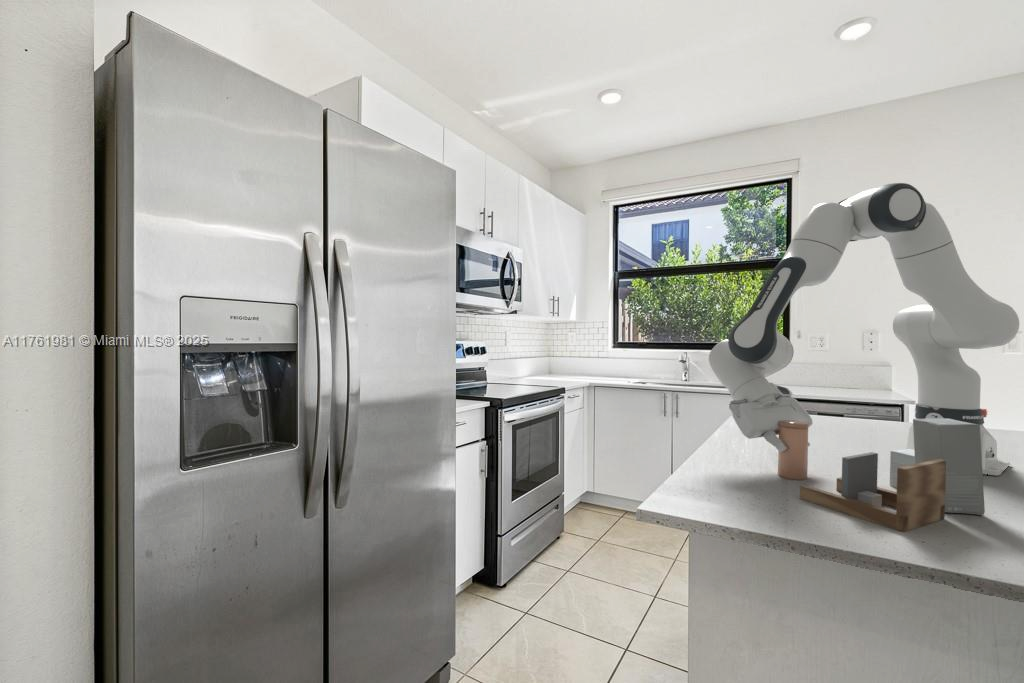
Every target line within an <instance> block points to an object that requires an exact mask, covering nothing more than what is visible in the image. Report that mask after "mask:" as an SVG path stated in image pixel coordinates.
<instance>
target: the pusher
mask: <svg viewBox="0 0 1024 683" xmlns="http://www.w3.org/2000/svg"><path fill="white" fill-rule="evenodd" d="M878 456H879V453H877V452H873V451H871V452H866V453H865V452H864V453H860V454H854V455H849V456H843V457H842V458H841V462H842V463H841V466H842V467H841V478H842V492H841V496H844V497H847V498H851V499H854V500H857V501H861V502H864V503H868V504H871V505H874V506H878V507H881V508H883V507H882V505H883V503H882V495H880V494H877V487H878V470H879V468H878V467H879V466H878V465H879V463H878V462H879V459H878V458H879V457H878Z"/></svg>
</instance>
